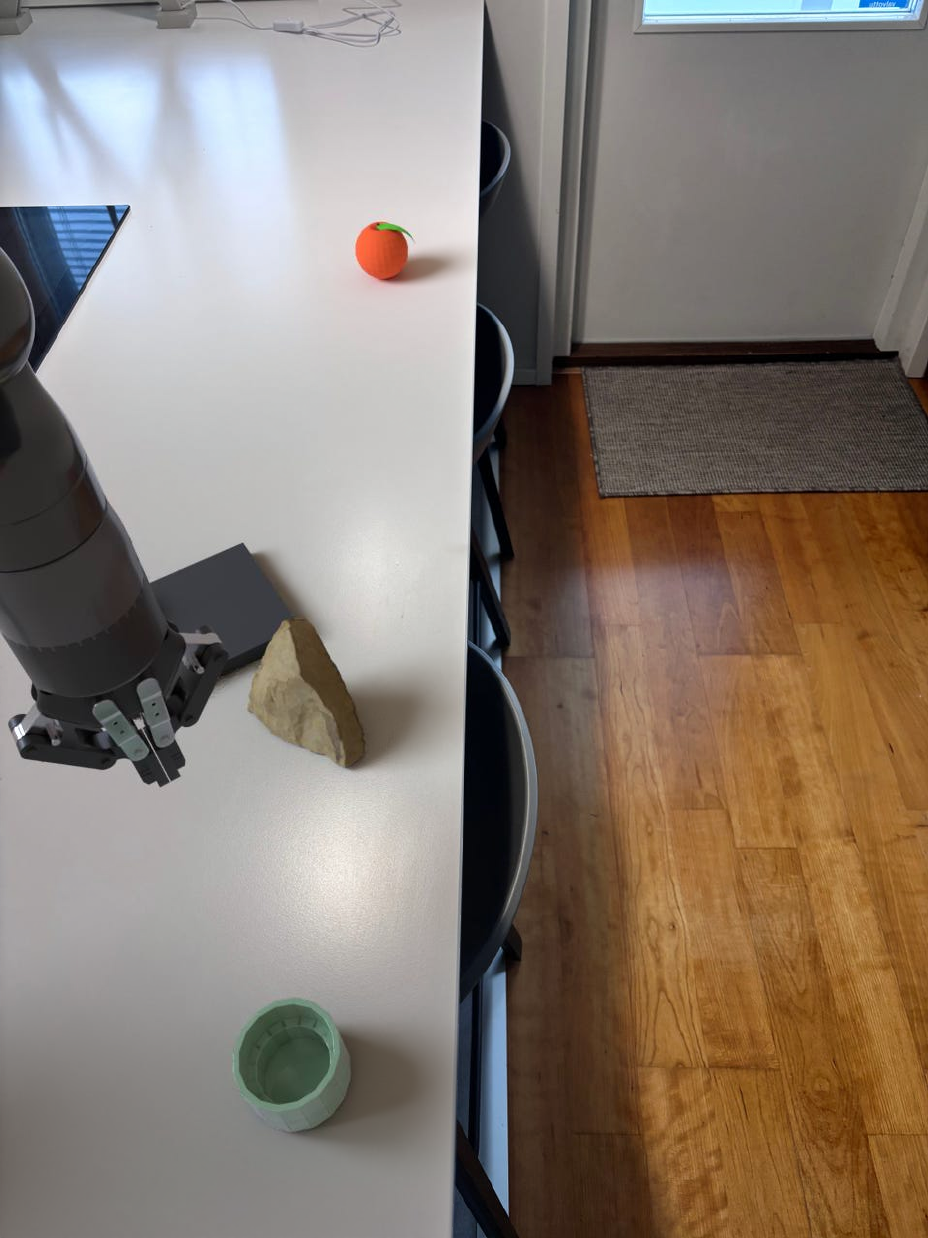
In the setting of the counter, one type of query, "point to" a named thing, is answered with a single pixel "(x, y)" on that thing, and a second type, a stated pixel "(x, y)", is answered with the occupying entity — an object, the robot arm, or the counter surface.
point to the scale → (224, 603)
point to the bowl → (292, 1064)
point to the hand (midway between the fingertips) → (166, 772)
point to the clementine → (382, 249)
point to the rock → (306, 695)
